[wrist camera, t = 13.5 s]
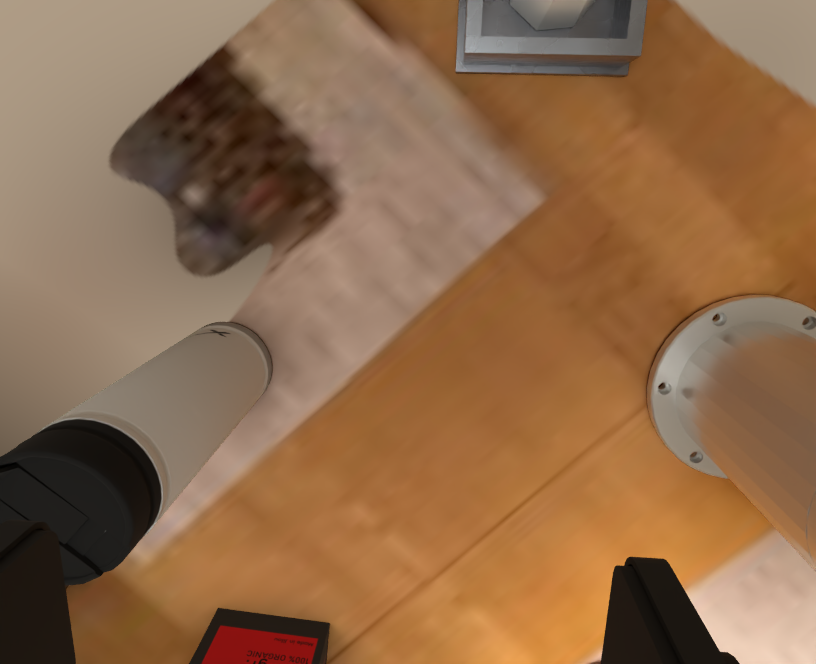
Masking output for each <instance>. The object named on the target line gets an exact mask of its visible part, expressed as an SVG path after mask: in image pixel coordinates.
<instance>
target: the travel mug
mask: <svg viewBox="0 0 816 664" xmlns="http://www.w3.org/2000/svg"><path fill="white" fill-rule="evenodd" d="M271 375H272V363H271V358H270V355H269V352H268V350H267V348H266V346H265V345H264V343H263V342H262V340H261V339H260V338H259V337H258V336H257V335H256V334H255V333H253V332H252V331H251V330H249V329H247V328H245V327H243V326H241V325H239V324H235V323H231V322H216V323H212V324H209V325H206V326H204V327H202V328H201V329H199V330H197V331H196V332H194V333H192V334H191V335H189V336H188V337H186V338H184V339H183V340H182V341H180V342H178V343H177V344H175V345H174V346H172V347H170V348H169V349H167V350H166V351H164V352H162V353H161V354H159V355H158V356H156V357H154V358H153V359H151V360H150V361H148V362H146V363H145V364H143V365H142V366H140V367H139V368H137V369H135V370H134V371H132V372H131V373H129V374H127V375H126V376H124V377H123V378H121V379H120V380H118V381H116V382H115V383H113V384H112V385H110V386H109V387H107V388H105V389H104V390H102V391H101V392H99V393H98V394H96V395H94V396H93V397H91V398H90V399H88V400H86V401H85V402H83V403H82V404H80V405H78V406H77V407H75V408H74V409H72V410H70V411H69V412H67V413H66V414H64V415H63V416H61V417H59V418H58V419H56V420H55V421H53V422H52V423H50V424H49V425H47V426H45V427H44V428H42V429H41V430H40V431H38V432H37V433H36V434H35V435H33V436H32V437H31V438H30V439H28V440H26V441H24V442H22V443H21V444H19V445H18V446H17V447H16V448H14V449H13V450H11V451H10V452H8V453H7V454H5V455H3V456H1V457H0V524H2V523H3V522H5V521H7V520H25V521H42V522H45V523H47V525H48V526H49V527H50V530H51V531H53V532H55V533H56V534H57V536H58V540H59V547H60V554H61V561H62V568H63V575H64V582H65V585H76V584H84V583H86V582H88V581H91V580H93V579H95V578H97V577H100V576H101V575H102V574H103V573H104V572H107V571H111V570H113V569H114V568H115V567H116V566H118V565H119V564H120V563H121V562H122V561H123V560H124V559H125V558H126V557H127V555H128V554H129V553H130V552H131V551H132V549H133V548H134V547H135V546H136V545H137V543H138V542H139V541H140V540H141V539H142V537H143V536H145V535H146V534H147V533H148V532H149V531H150V530H151V529H152V527H153V526H154V525H155V524H156V522H157V521H158V520H159V519H160V518H161V517H162V515H163V514H164V513H165V512H166V511H167V509H168V508H169V507H170V506H171V504H172V503H173V502H174V501H175V500H176V498H177V497H178V496H179V495H180V494H181V492H182V491H183V490H184V489H185V488H186V486H187V485H188V484H189V483H190V481H191V480H192V479H193V478H194V477H195V475H196V474H197V473H198V472H199V471H200V469H201V468H202V467H203V466H204V465H205V463H206V462H207V461H208V460H209V459H210V457H211V456H212V455H213V454H214V452H215V451H216V450H217V449H218V448H219V446H220V445H221V444H222V443H223V442H224V440H225V439H226V438H227V437H228V436H229V434H230V433H231V432H232V431H233V429H234V428H235V427H236V426H237V425H238V423H239V422H240V421H241V420H242V419H243V417H244V416H245V415H246V414H247V413H248V411H249V410H250V409H251V408H252V406H253V405H254V404H255V403H256V402H257V400H258V399H259V398H260V397H261V396H262V394H263V393H264V392H265V390H266V389H267V387H268V385H269V383H270V379H271Z"/></svg>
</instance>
